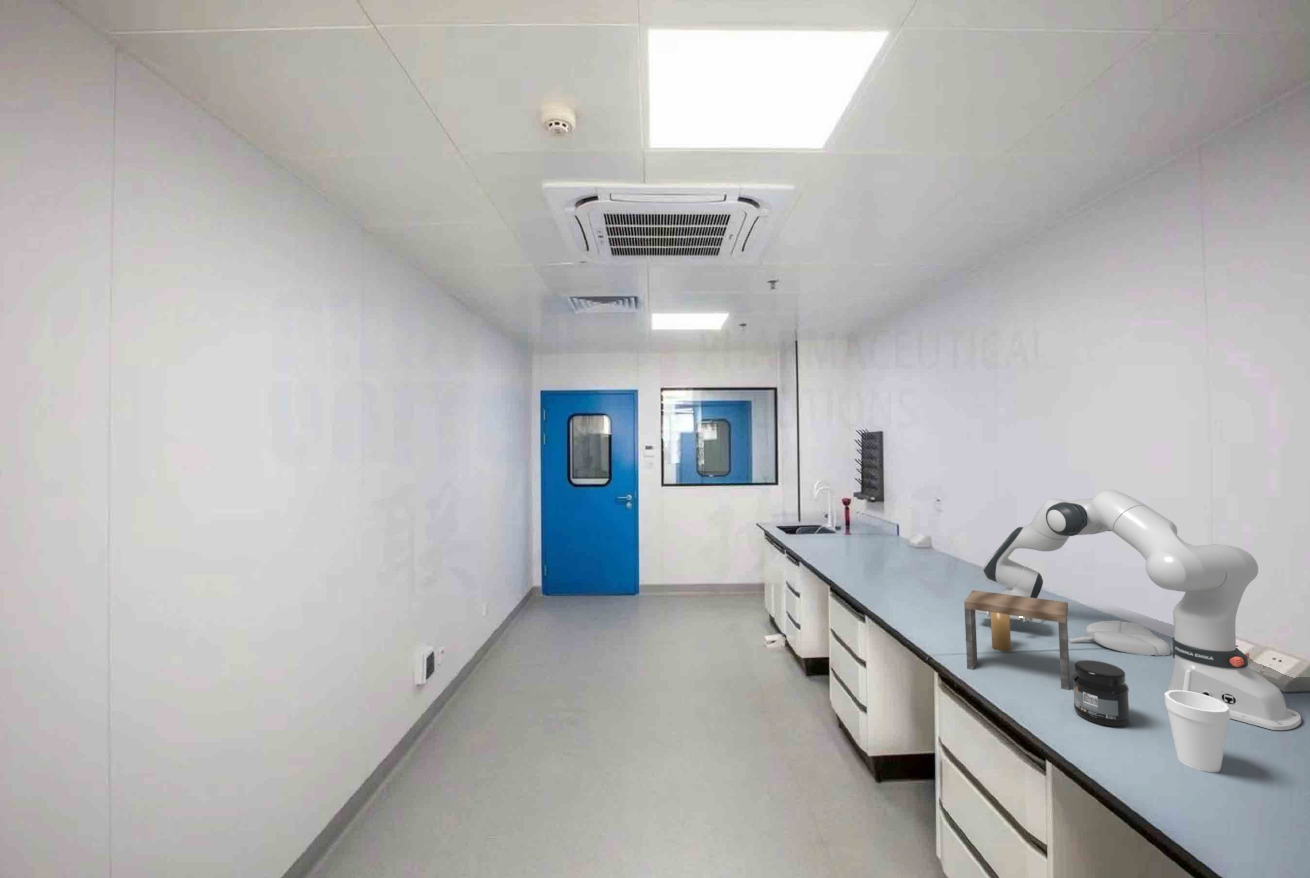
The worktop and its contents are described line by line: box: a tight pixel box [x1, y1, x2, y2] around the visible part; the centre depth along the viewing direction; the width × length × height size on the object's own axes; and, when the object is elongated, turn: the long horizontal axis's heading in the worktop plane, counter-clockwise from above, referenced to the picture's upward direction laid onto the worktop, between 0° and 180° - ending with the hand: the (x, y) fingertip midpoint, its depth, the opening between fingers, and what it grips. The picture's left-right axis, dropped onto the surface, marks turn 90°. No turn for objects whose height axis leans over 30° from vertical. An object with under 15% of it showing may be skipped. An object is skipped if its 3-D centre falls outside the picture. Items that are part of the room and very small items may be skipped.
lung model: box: [1068, 619, 1172, 657], centre depth 172 cm, size 7×17×25 cm
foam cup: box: [1164, 690, 1231, 773], centre depth 111 cm, size 10×9×13 cm
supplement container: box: [1072, 659, 1131, 727], centre depth 130 cm, size 10×10×12 cm
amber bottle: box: [990, 612, 1012, 652], centre depth 173 cm, size 5×5×14 cm
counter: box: [963, 589, 1071, 691], centre depth 157 cm, size 24×14×20 cm, turn 50°
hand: (1005, 617), depth 182 cm, fingers open, 8 cm apart
